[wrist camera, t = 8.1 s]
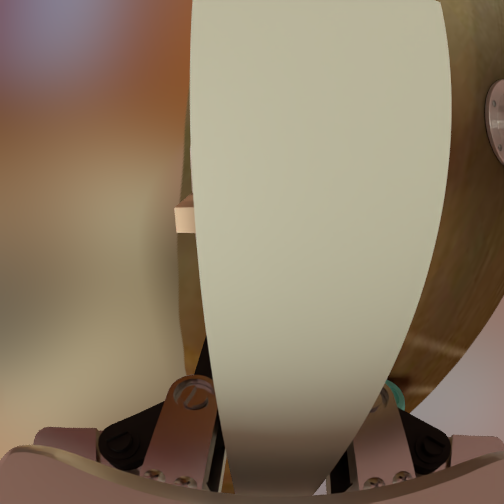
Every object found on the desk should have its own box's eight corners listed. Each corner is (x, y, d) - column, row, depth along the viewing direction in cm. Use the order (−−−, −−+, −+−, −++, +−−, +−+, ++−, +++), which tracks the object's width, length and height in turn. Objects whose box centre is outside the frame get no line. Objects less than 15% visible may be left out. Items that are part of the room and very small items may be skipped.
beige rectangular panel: (300, 107, 14) (440, 2, 1) (287, 339, 20) (286, 524, 8) (264, 106, 14) (195, -26, 1) (260, 338, 21) (242, 523, 8)
